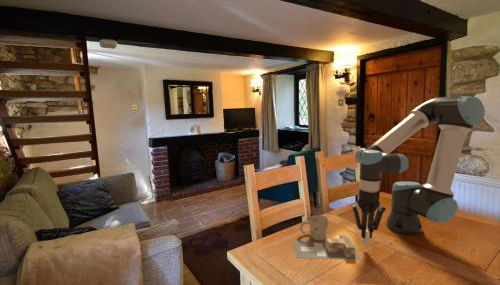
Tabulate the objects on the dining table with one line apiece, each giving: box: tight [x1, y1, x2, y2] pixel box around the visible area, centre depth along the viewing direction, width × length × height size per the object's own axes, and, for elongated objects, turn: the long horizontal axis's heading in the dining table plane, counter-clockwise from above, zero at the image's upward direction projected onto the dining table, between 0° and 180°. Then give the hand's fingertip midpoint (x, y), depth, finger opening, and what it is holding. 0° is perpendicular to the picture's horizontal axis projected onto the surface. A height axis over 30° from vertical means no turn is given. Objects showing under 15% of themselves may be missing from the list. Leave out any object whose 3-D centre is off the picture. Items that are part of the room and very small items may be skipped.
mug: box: [299, 214, 329, 241], centre depth 117 cm, size 8×13×10 cm, turn 78°
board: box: [293, 240, 363, 261], centre depth 107 cm, size 25×13×2 cm, turn 86°
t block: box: [326, 234, 357, 257], centre depth 106 cm, size 10×10×4 cm
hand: (365, 245), depth 105 cm, fingers closed
